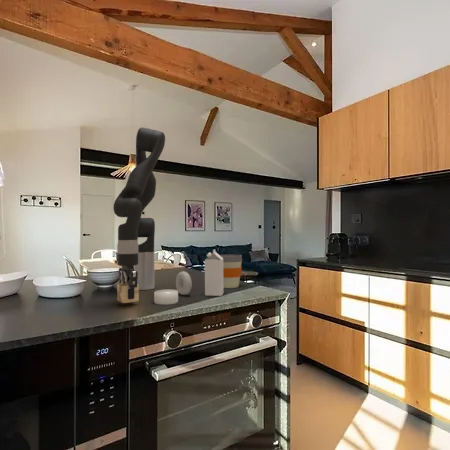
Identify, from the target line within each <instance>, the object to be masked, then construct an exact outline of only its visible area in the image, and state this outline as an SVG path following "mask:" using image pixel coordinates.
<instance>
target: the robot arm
mask: <svg viewBox="0 0 450 450" xmlns="http://www.w3.org/2000/svg"><path fill="white" fill-rule="evenodd" d="M165 145H166V136H165V133H164V132H163V131H160V130H156V129H151V128H148V127H147V128H146V127H140V128H138V130H137V133H136V138H135V166H134V167H133V169H132V170H131V172H130V174H129V176H128V178H127V182H126V184H125V186H124V188H123V189H122V190H121V191H120V193H119V194H118V196H117V197H116V199H115V200H114V203H113V209H112V210H113V213H114V214H115V215H116V216H117V217H118V218H126V221H125V222H124V223H121V224H120V225H118V229H117V246H116V247H117V248H116V250H117V252H116V253H117V254H116V256H117V261H116V264H117V266H121V267H119V268H118V279H119V283H118V284H123V283H127V286H128V299H134V288H135V287H137V284H138V285H139V291H145V290H146V291H148V290H153V289H155V234H156V233H155V231H156V224H155V220H154V218H152V217H142V216H143V215H142V214H143V211H144V210H145V209H146V208H147V206H148V205H149V204H151V202H152V200H153V199H155V195H156V188H157V179H156V177H155V174H154V172H153V170H154V168H155V166H156V164H157V163H158V160H159V158H160V157H161V154H162V153H163V150H164V148H165ZM146 152H148V153H150V154H149V155H148V156H147V153H146ZM138 238H146V240H145V241H144V242H142V243H140V244H139V242H138Z"/></svg>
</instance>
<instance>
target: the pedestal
mask: <svg viewBox="0 0 450 450" xmlns="http://www.w3.org/2000/svg"><path fill="white" fill-rule="evenodd" d="M153 293H154V294H153V295H154V297H153V299H154V301H153V303H154V304H155V305H174V304H175V305H176V304H177V303H179V292H178V291H177V289H167V288H165V289H159V290H155V291H154V292H153Z"/></svg>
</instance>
